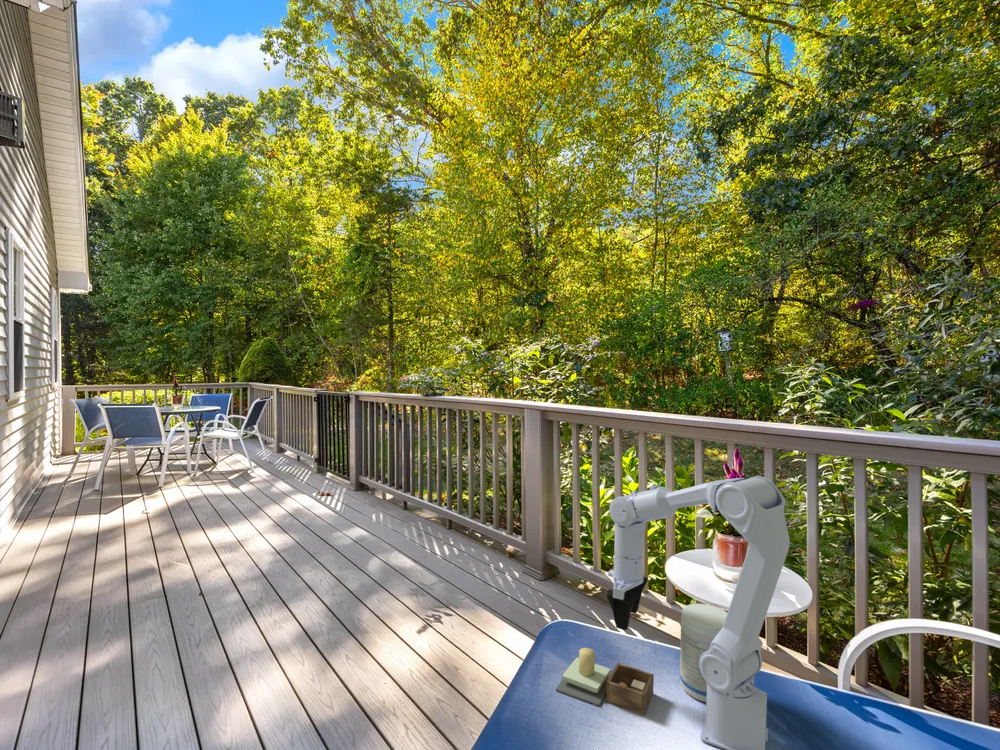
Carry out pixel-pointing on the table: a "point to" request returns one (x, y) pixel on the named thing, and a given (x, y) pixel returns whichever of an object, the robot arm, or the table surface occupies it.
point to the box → (630, 688)
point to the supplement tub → (697, 644)
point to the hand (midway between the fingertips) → (626, 619)
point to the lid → (586, 672)
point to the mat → (583, 692)
